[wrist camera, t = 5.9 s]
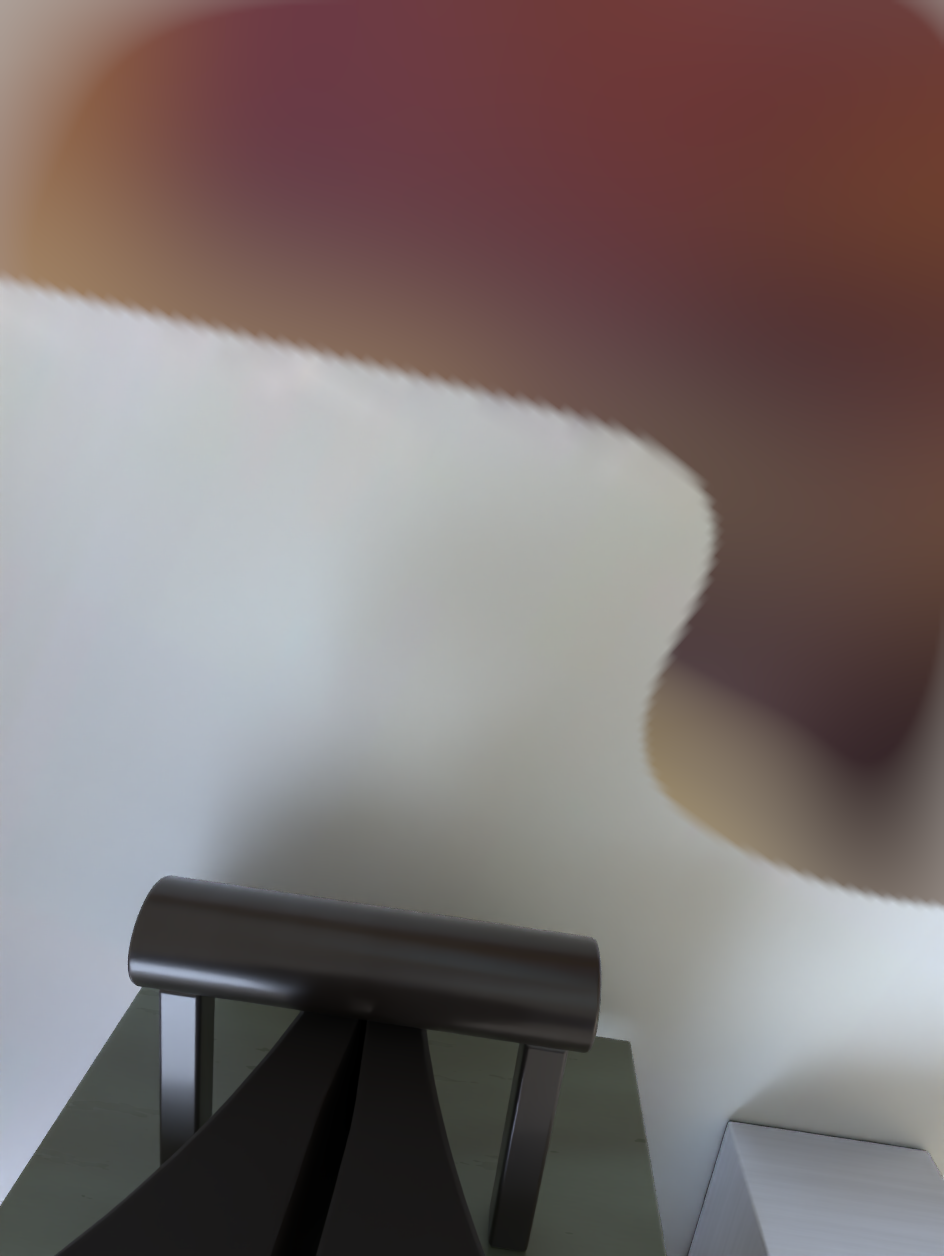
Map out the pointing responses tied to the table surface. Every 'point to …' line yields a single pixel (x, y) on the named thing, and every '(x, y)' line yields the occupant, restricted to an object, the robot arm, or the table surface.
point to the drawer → (374, 991)
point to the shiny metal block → (819, 1197)
